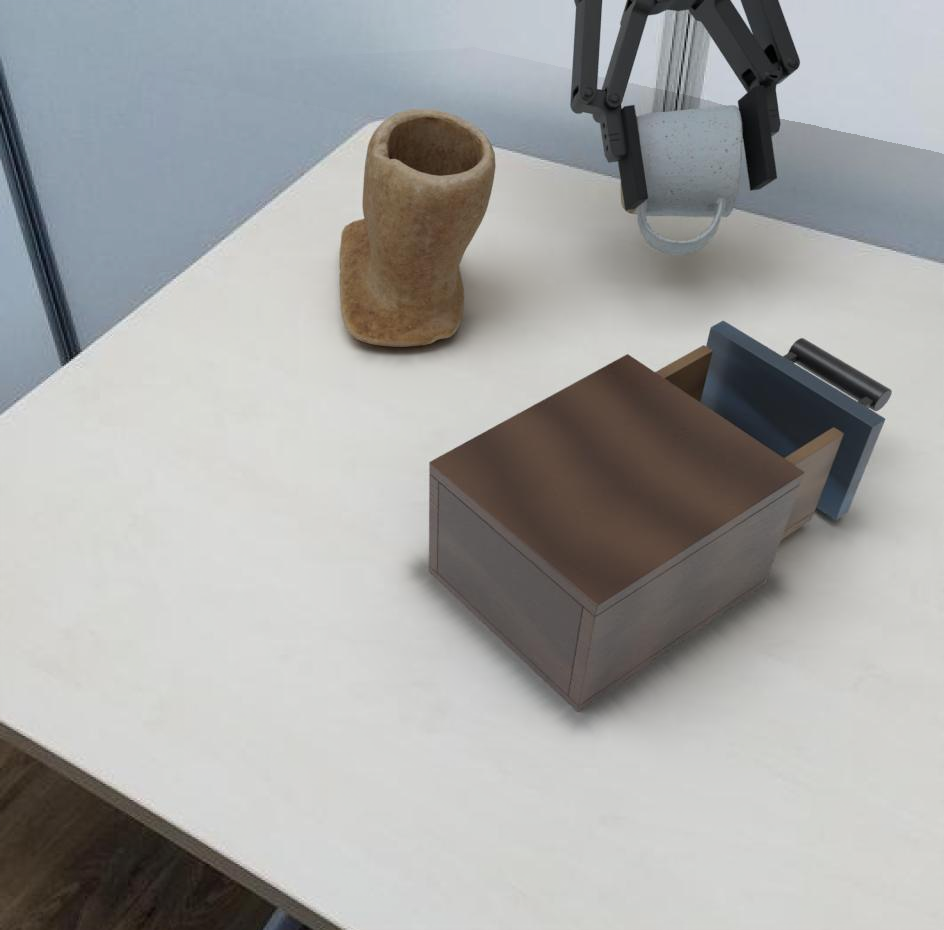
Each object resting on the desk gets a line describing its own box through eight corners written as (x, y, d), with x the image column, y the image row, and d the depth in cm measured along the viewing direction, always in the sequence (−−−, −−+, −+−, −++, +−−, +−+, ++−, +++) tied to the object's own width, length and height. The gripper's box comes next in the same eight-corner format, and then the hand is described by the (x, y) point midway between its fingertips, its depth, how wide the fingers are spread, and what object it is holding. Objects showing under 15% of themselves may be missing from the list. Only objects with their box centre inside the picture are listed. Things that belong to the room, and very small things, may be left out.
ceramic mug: (613, 183, 90) (626, 89, 84) (719, 182, 89) (739, 86, 83) (622, 260, 83) (637, 164, 77) (737, 260, 82) (760, 162, 76)
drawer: (755, 381, 81) (781, 287, 75) (903, 475, 75) (945, 380, 69) (545, 504, 75) (556, 412, 69) (687, 620, 68) (713, 529, 62)
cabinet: (608, 468, 78) (627, 353, 70) (764, 587, 70) (805, 472, 63) (428, 574, 72) (428, 461, 65) (577, 715, 65) (597, 605, 57)
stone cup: (491, 356, 86) (502, 173, 75) (337, 360, 87) (324, 180, 76) (480, 245, 96) (488, 69, 85) (341, 250, 97) (331, 76, 86)
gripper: (774, -118, 84) (816, 187, 86) (493, -80, 82) (542, 231, 84) (826, -181, 77) (870, 155, 78) (518, -140, 75) (570, 202, 77)
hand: (700, 194), depth 81 cm, fingers closed on ceramic mug, 9 cm apart
